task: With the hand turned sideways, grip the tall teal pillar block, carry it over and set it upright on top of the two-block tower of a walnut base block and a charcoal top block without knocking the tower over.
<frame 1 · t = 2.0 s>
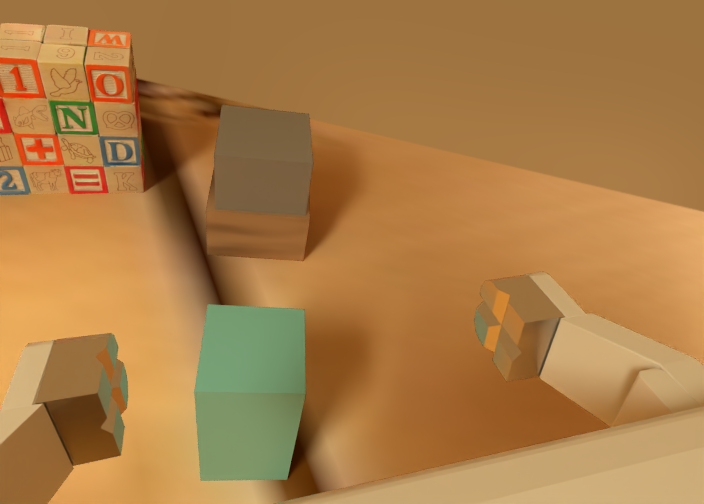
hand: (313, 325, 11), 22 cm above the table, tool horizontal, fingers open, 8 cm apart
teal pillar: (247, 439, 32), on the table
tower top: (262, 184, 42), point 5 cm above the table, touching tower base
tower base: (258, 227, 46), on the table, touching tower top
stack of blocks: (17, 176, 45), on the table
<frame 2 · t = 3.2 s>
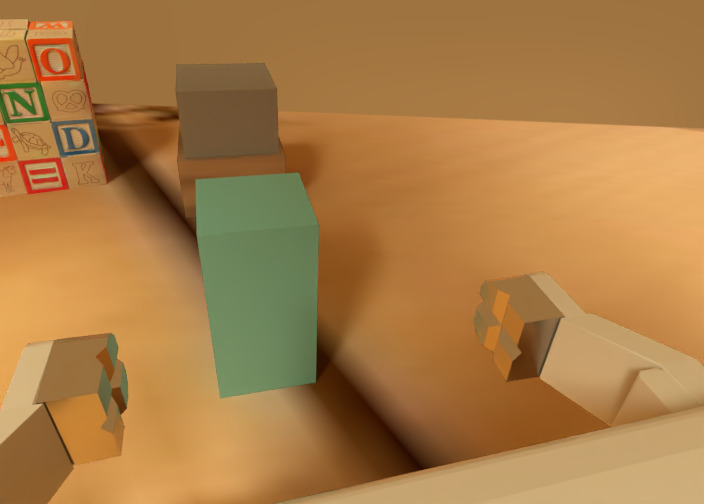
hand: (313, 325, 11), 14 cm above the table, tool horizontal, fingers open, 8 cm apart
teal pillar: (263, 355, 29), on the table
tower top: (229, 138, 42), point 5 cm above the table, touching tower base
tower base: (234, 192, 44), on the table, touching tower top
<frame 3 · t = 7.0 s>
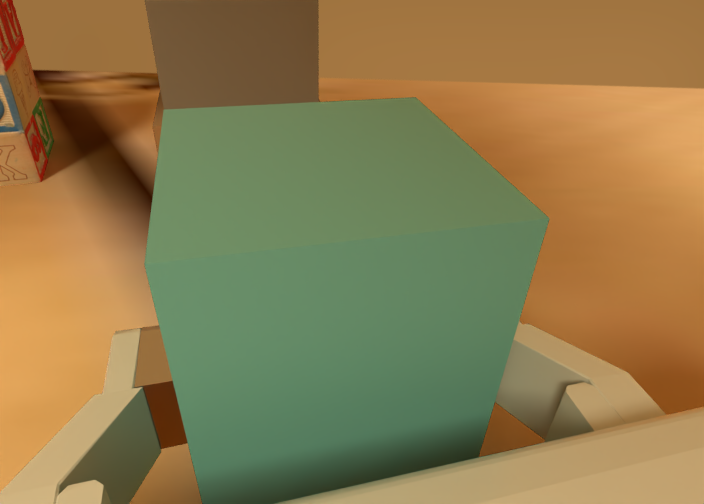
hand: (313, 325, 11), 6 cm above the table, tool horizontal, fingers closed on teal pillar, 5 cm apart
teal pillar: (321, 499, 14), on the table, touching gripper
tower top: (238, 95, 27), point 5 cm above the table
tower base: (246, 180, 29), on the table
when the fingers open (17 cm above the table, at t = 11.8 s): teal pillar drops 2 cm, resting on tower top.
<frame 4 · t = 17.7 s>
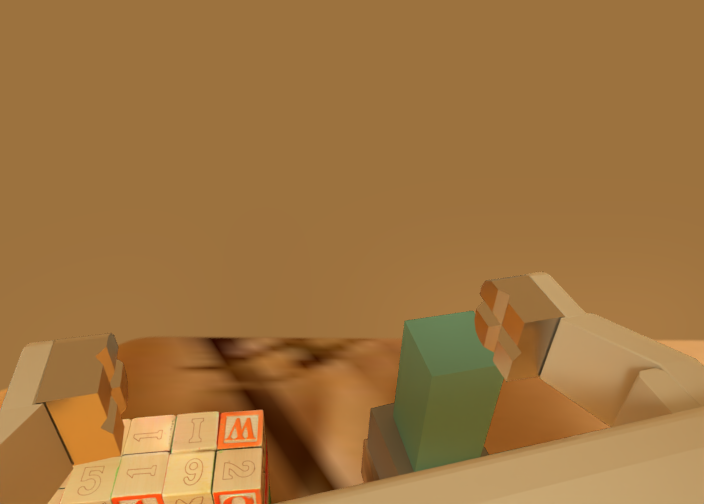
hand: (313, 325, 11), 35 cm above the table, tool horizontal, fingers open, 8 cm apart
teal pillar: (434, 437, 38), point 10 cm above the table, touching tower top
tower top: (421, 472, 41), point 5 cm above the table, touching teal pillar, tower base
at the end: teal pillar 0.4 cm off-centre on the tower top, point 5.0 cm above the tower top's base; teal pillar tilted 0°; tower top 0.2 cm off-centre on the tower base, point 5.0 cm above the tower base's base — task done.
